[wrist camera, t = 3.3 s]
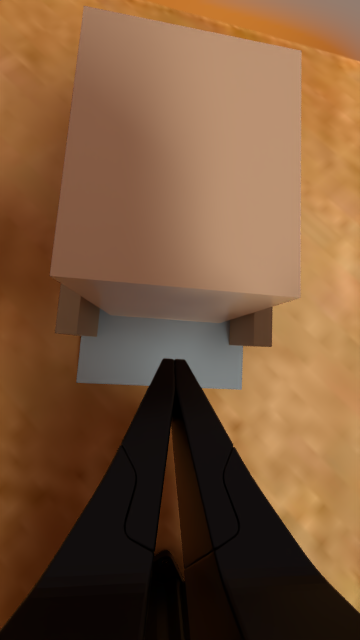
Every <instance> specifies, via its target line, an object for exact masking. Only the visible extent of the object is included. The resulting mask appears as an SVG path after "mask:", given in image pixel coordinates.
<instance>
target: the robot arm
mask: <svg viewBox="0 0 360 640" xmlns="http://www.w3.org/2000/svg"><path fill="white" fill-rule="evenodd" d="M170 428H171V429H172V440H173V451H174V462H175V473H176V484H177V495H178V507H179V518H180V529H181V540H182V551H183V562H184V569H185V570H184V573H185V581H184V579H183V577H182V575H181V573H180V571H179V568H178V566H177V564H176V562H175V560H174V558H173V556H172V554H171V552H170V551H168V550H164V551H161V552H160V553H158V554H157V555H155V556H154V551H155V546H156V538H157V530H158V522H159V514H160V507H161V499H162V491H163V483H164V475H165V468H166V460H167V452H168V444H169V436H170ZM163 560H168V561H167V562H166V563H164V562H162V561H163ZM0 640H360V613H359V612H358V611H357V610H356V609H355V608H354V607H353V606H352V605H351V604H350V603H349V602H348V601H347V600H346V599H345V598H344V597H343V596H342V595H341V594H340V593H339V592H338V591H337V590H336V589H335V588H334V587H333V586H332V585H331V584H330V583H329V582H328V581H327V580H326V579H325V578H324V577H323V576H322V575H321V573H320V572H319V571H318V570H317V569H316V567H315V566H314V565H313V564H312V562H311V561H310V560H309V559H308V557H307V556H306V555H305V553H304V552H303V550H302V549H301V548H300V546H299V545H298V543H297V542H296V540H295V539H294V538H293V536H292V535H291V533H290V532H289V530H288V529H287V527H286V526H285V525H284V523H283V522H282V520H281V519H280V517H279V516H278V514H277V513H276V512H275V510H274V509H273V507H272V506H271V504H270V503H269V501H268V500H267V499H266V497H265V496H264V494H263V493H262V491H261V490H260V488H259V487H258V485H257V484H256V482H255V480H254V479H253V477H252V476H251V474H250V472H249V471H248V469H247V467H246V466H245V464H244V462H243V461H242V459H241V457H240V455H239V454H238V452H237V450H236V448H235V447H233V443H232V441H231V440H230V438H229V436H228V434H227V433H226V431H225V429H224V427H223V425H222V424H221V422H220V420H219V418H218V417H217V415H216V413H215V411H214V409H213V408H212V406H211V404H210V402H209V401H208V399H207V397H206V395H205V393H204V392H203V390H202V388H201V386H200V385H199V383H198V381H197V379H196V377H195V376H194V374H193V372H192V370H191V369H190V367H189V365H188V363H187V362H186V360H185V359H175V360H174V359H171V358H163V359H162V361H161V363H160V365H159V367H158V369H157V371H156V373H155V375H154V377H153V379H152V381H151V383H150V385H149V388H148V390H147V392H146V394H145V396H144V398H143V400H142V402H141V404H140V406H139V408H138V410H137V412H136V414H135V416H134V418H133V420H132V422H131V424H130V426H129V428H128V430H127V432H126V434H125V436H124V438H123V440H122V443H121V445H120V446H119V448H118V450H117V452H116V454H115V456H114V458H113V460H112V462H111V464H110V466H109V468H108V470H107V472H106V474H105V475H104V477H103V479H102V481H101V482H100V484H99V486H98V488H97V489H96V491H95V493H94V494H93V496H92V498H91V499H90V501H89V502H88V504H87V506H86V507H85V509H84V510H83V512H82V514H81V515H80V517H79V518H78V520H77V522H76V523H75V525H74V526H73V528H72V529H71V531H70V533H69V534H68V536H67V537H66V539H65V541H64V542H63V544H62V545H61V547H60V549H59V550H58V552H57V553H56V555H55V556H54V558H53V559H52V561H51V562H50V564H49V565H48V567H47V568H46V570H45V571H44V573H43V574H42V576H41V577H40V579H39V580H38V582H37V583H36V584H35V586H34V587H33V589H32V590H31V591H30V593H29V594H28V595H27V597H26V598H25V600H24V601H23V602H22V603H21V605H20V606H19V607H18V608H17V610H16V611H15V612H14V613H13V615H12V616H11V617H10V619H9V620H8V621H7V622H6V624H5V625H4V626H3V627H2V629H1V630H0Z"/></svg>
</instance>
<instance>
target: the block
mask: <svg viewBox="0 0 360 640" xmlns="http://www.w3.org/2000/svg"><path fill="white" fill-rule="evenodd" d="M50 276H51V277H52V278H54V279H55V280H57V281H58V282H60V283H62V284H63V285H65V286H66V287H68V288H69V289H71V290H72V291H74V292H75V293H77V294H79V295H80V296H82V297H83V298H85V299H86V300H88V301H89V302H91V303H93V304H94V305H96V306H97V307H99V308H100V309H102V310H103V311H105V312H106V313H108V314H110V315H114V316H127V317H141V318H155V319H169V320H182V321H196V322H210V323H222V322H225V321H228V320H231V319H235V318H238V317H241V316H244V315H247V314H251V313H254V312H257V311H260V310H263V309H267V308H270V307H273V306H276V305H279V304H283V303H286V302H289V301H292V300H295V299H298V298H301V51H300V50H295V49H290V48H286V47H281V46H276V45H271V44H266V43H261V42H256V41H252V40H247V39H242V38H237V37H232V36H227V35H223V34H218V33H213V32H208V31H203V30H198V29H194V28H189V27H184V26H179V25H174V24H169V23H165V22H160V21H155V20H150V19H145V18H140V17H136V16H131V15H126V14H121V13H116V12H111V11H107V10H102V9H97V8H92V7H87V6H84V10H83V18H82V26H81V33H80V41H79V49H78V57H77V65H76V73H75V81H74V88H73V96H72V104H71V112H70V120H69V128H68V136H67V143H66V151H65V159H64V167H63V175H62V183H61V191H60V199H59V206H58V214H57V222H56V230H55V238H54V246H53V254H52V261H51V269H50Z"/></svg>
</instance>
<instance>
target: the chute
mask: <svg viewBox="0 0 360 640" xmlns="http://www.w3.org/2000/svg"><path fill="white" fill-rule="evenodd" d="M55 333H59V334H68V335H78V336H81V344H80V353H79V362H78V371H77V381H76V383H97V384H121V385H145V386H149V385H150V383H151V381H152V379H153V377H154V375H155V373H156V371H157V369H158V367H159V365H160V363H161V361H162V359H163V358H171V359H174V360H175V359H185V360H186V362H187V363H188V365H189V367H190V369H191V370H192V372H193V374H194V376H195V377H196V379H197V381H198V383H199V385H200V386H201V388H216V389H240V390H242V359H243V346H261V347H272V307H270V308H267V309H263V310H260V311H257V312H254V313H251V314H247V315H244V316H241V317H238V318H235V319H231V320H228V321H225V322H222V323H210V322H196V321H182V320H169V319H155V318H141V317H127V316H114V315H110V314H108V313H106V312H105V311H103V310H102V309H100V308H99V307H97V306H96V305H94V304H93V303H91V302H89V301H88V300H86V299H85V298H83V297H82V296H80V295H79V294H77V293H75V292H74V291H72V290H71V289H69V288H68V287H66V286H65V285H63V284H62V283H61V287H60V295H59V304H58V312H57V320H56V328H55Z"/></svg>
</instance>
